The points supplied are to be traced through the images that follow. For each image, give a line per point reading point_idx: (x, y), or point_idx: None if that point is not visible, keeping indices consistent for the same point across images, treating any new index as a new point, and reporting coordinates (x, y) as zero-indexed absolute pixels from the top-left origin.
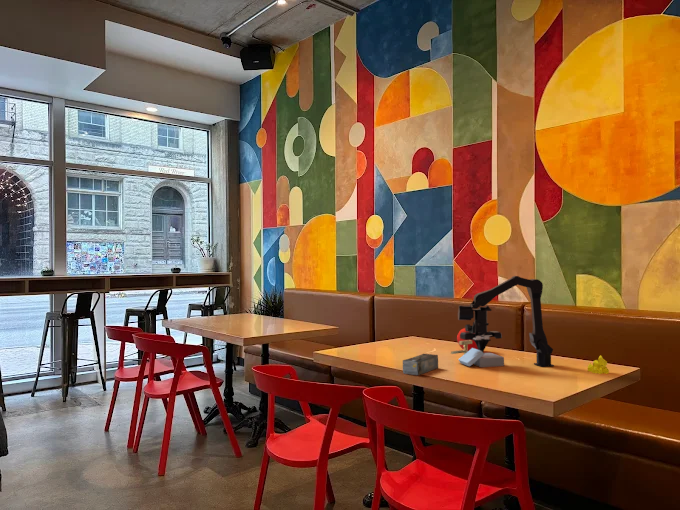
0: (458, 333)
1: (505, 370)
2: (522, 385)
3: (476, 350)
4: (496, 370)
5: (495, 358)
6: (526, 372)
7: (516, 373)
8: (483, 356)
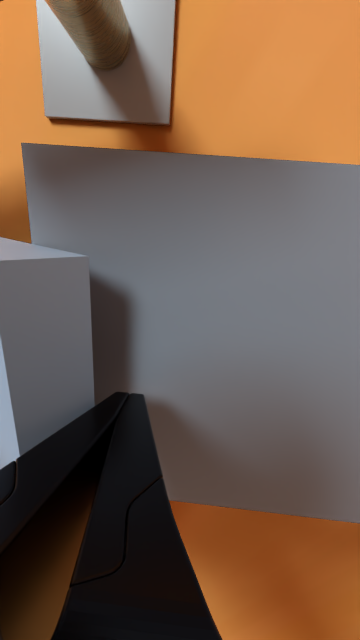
0: None
1: (211, 545)
2: None
3: (10, 460)
4: None
5: (248, 499)
6: (294, 613)
7: (218, 608)
8: (155, 416)
